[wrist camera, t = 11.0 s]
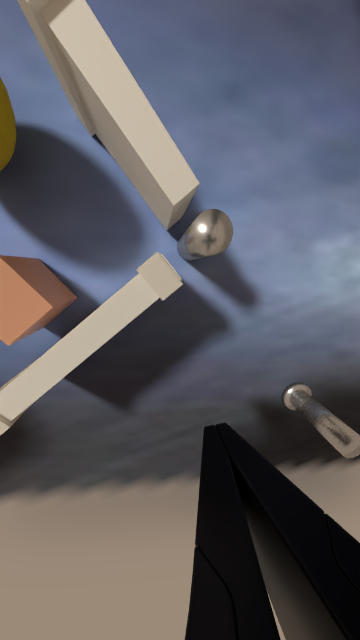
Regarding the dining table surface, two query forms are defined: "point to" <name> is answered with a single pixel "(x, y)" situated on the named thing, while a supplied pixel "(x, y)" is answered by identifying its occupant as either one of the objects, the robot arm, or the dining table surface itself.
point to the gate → (87, 337)
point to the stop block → (28, 297)
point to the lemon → (6, 128)
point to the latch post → (322, 420)
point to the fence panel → (112, 104)
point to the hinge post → (206, 235)
